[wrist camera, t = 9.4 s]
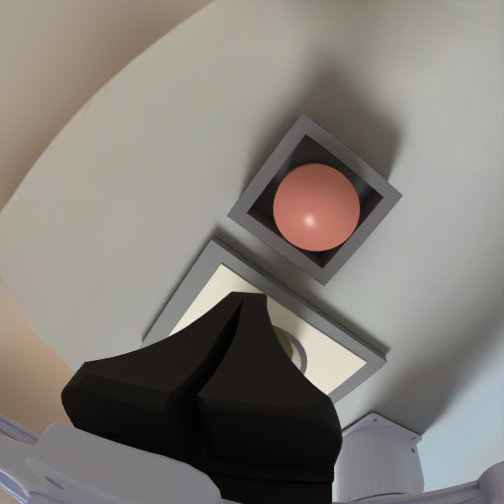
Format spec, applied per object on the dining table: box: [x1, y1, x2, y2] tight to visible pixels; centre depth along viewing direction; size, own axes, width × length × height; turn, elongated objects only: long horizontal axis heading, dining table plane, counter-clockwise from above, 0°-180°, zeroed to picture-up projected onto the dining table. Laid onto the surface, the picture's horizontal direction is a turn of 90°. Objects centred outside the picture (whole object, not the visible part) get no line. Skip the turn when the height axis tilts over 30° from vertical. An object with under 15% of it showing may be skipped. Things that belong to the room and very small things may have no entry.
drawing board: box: [139, 236, 387, 405], centre depth 25 cm, size 17×13×1 cm
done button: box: [273, 162, 360, 251], centre depth 17 cm, size 4×4×2 cm
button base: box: [227, 113, 403, 286], centre depth 18 cm, size 7×7×4 cm
